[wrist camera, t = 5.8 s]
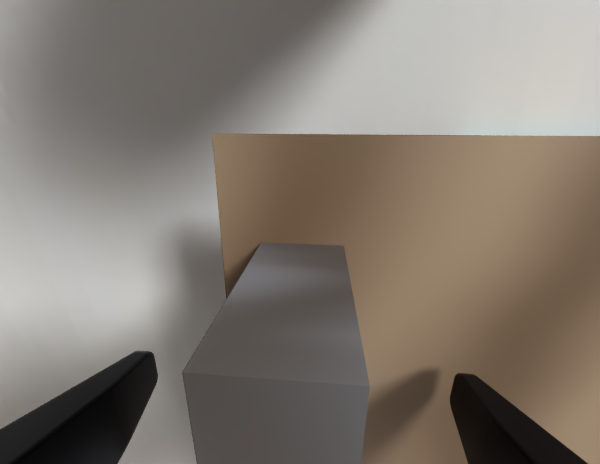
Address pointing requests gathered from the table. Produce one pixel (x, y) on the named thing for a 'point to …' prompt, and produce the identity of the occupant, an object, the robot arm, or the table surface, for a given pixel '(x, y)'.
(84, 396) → the robot arm
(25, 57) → the table surface
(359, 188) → the lid
